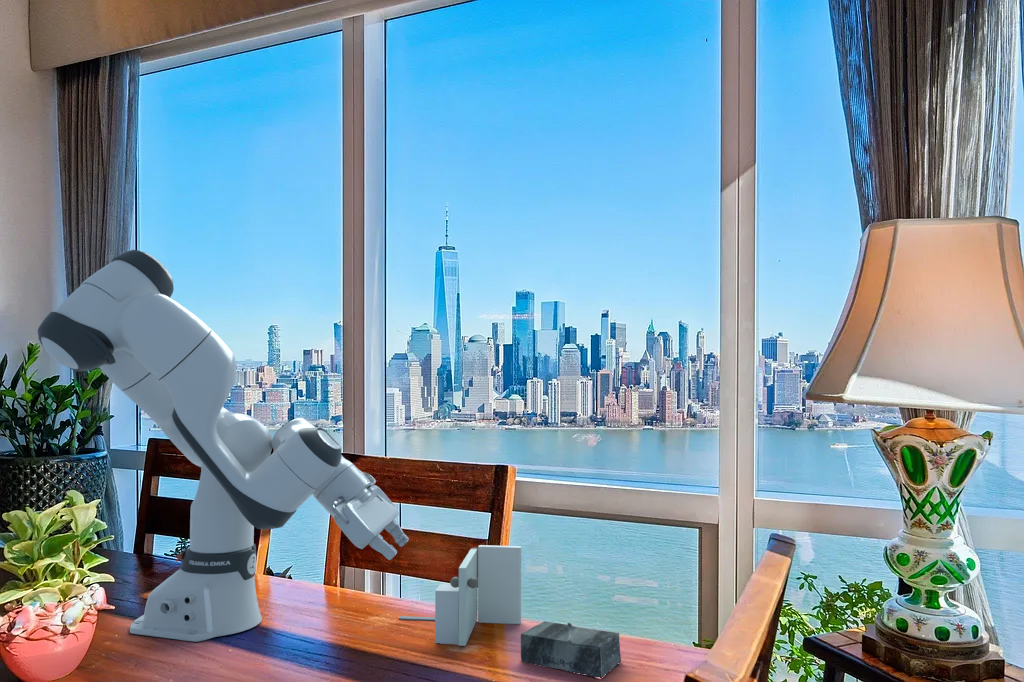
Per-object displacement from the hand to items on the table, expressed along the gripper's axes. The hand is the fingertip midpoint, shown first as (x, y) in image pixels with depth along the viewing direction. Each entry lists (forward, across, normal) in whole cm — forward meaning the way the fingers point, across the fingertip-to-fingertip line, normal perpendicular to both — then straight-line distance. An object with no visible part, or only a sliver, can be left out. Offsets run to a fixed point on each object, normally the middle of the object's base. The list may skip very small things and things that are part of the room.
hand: (399, 549), depth 137 cm
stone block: (+32, -10, -11) cm, 35 cm away
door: (+19, +2, +2) cm, 19 cm away
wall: (+17, +8, +4) cm, 20 cm away
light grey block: (+17, -2, +4) cm, 18 cm away
